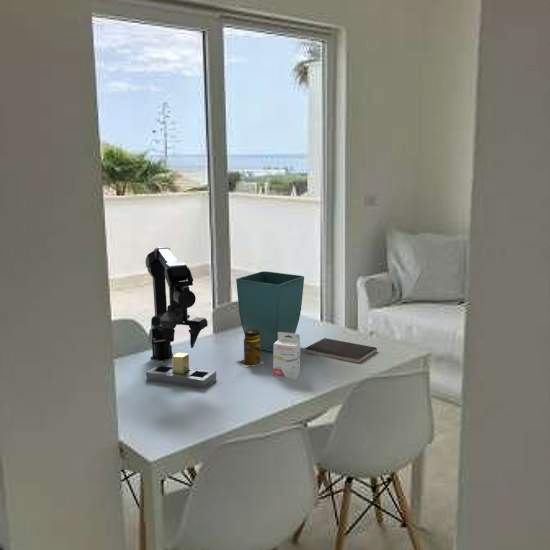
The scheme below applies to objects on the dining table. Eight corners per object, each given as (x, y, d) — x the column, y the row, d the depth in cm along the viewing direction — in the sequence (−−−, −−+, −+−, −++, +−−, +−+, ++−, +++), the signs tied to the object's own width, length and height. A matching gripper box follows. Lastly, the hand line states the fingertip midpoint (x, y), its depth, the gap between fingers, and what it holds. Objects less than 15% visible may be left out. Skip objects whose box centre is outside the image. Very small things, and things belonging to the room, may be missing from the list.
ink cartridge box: (272, 376, 204) (272, 335, 201) (277, 371, 209) (277, 331, 206) (296, 378, 201) (296, 337, 198) (300, 373, 206) (300, 333, 203)
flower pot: (305, 343, 240) (305, 275, 234) (279, 357, 223) (278, 284, 218) (264, 336, 250) (263, 270, 245) (236, 348, 234) (234, 279, 228)
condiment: (265, 363, 217) (264, 332, 215) (245, 368, 212) (244, 336, 210) (254, 358, 223) (254, 327, 221) (235, 362, 218) (234, 331, 216)
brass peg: (173, 381, 200) (172, 356, 198) (179, 377, 204) (178, 352, 202) (183, 382, 199) (182, 357, 197) (189, 378, 202) (188, 353, 200)
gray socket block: (146, 380, 201) (146, 372, 200) (160, 371, 209) (160, 363, 209) (203, 389, 193) (203, 380, 192) (216, 379, 201) (216, 371, 201)
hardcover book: (358, 364, 216) (358, 358, 216) (304, 353, 229) (304, 348, 229) (376, 352, 229) (376, 347, 229) (325, 342, 242) (325, 337, 242)
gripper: (140, 304, 192) (143, 350, 195) (190, 309, 185) (192, 356, 188) (159, 297, 202) (161, 340, 205) (207, 301, 195) (209, 346, 198)
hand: (180, 346), depth 199 cm, fingers open, 9 cm apart
